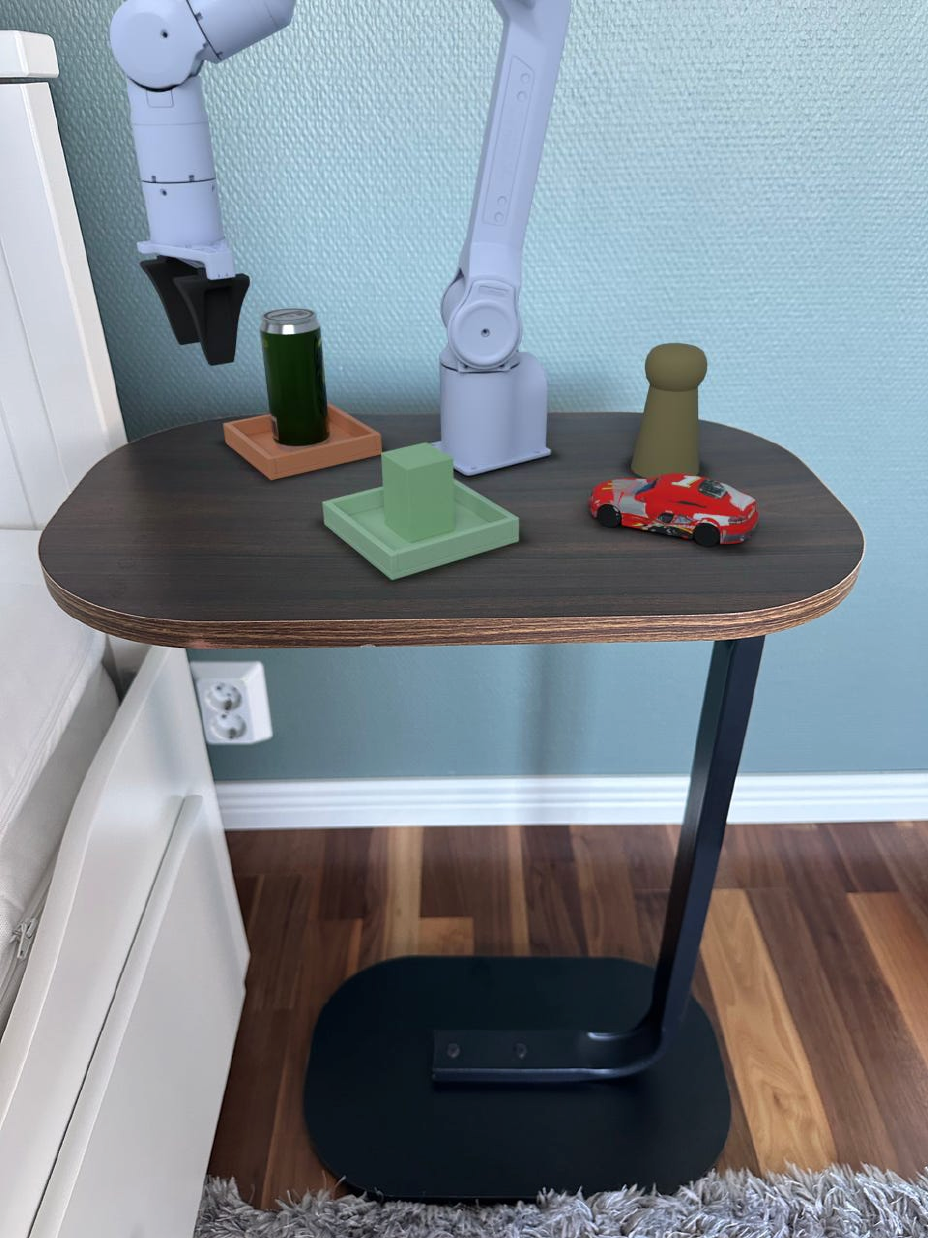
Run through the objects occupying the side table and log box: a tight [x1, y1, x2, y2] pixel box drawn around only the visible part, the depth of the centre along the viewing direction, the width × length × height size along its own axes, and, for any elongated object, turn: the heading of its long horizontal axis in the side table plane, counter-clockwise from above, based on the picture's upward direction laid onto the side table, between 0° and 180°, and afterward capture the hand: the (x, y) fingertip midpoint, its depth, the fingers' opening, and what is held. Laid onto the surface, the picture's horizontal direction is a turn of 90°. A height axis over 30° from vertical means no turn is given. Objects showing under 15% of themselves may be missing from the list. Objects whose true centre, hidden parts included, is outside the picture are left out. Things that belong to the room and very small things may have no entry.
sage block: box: [380, 441, 455, 543], centre depth 72 cm, size 4×4×6 cm
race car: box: [588, 473, 759, 548], centre depth 74 cm, size 13×5×4 cm, turn 62°
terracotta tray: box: [222, 401, 383, 481], centre depth 90 cm, size 11×11×2 cm
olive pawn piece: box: [630, 342, 708, 479], centre depth 82 cm, size 6×6×11 cm
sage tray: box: [321, 477, 520, 581], centre depth 74 cm, size 11×11×2 cm
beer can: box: [259, 307, 330, 452], centre depth 87 cm, size 5×5×12 cm
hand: (205, 352), depth 81 cm, fingers open, 7 cm apart
